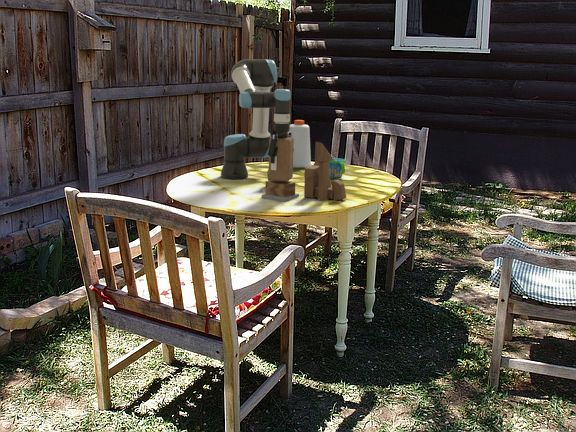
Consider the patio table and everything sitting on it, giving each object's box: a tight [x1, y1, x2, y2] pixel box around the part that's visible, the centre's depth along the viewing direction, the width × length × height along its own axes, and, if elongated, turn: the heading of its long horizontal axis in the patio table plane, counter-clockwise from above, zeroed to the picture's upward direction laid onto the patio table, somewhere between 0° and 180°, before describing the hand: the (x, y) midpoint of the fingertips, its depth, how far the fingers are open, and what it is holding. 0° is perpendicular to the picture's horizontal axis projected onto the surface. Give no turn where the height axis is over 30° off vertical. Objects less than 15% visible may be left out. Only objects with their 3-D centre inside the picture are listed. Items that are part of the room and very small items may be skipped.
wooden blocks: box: [303, 141, 348, 202], centre depth 323 cm, size 24×20×28 cm
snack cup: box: [329, 157, 346, 179], centre depth 377 cm, size 16×10×10 cm
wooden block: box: [268, 137, 294, 182], centre depth 319 cm, size 10×10×20 cm
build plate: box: [261, 192, 300, 202], centre depth 323 cm, size 13×13×2 cm
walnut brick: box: [264, 180, 296, 197], centre depth 322 cm, size 12×8×6 cm, turn 51°
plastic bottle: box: [288, 119, 312, 169], centre depth 408 cm, size 15×15×28 cm
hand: (280, 168), depth 320 cm, fingers closed on wooden block, 12 cm apart
